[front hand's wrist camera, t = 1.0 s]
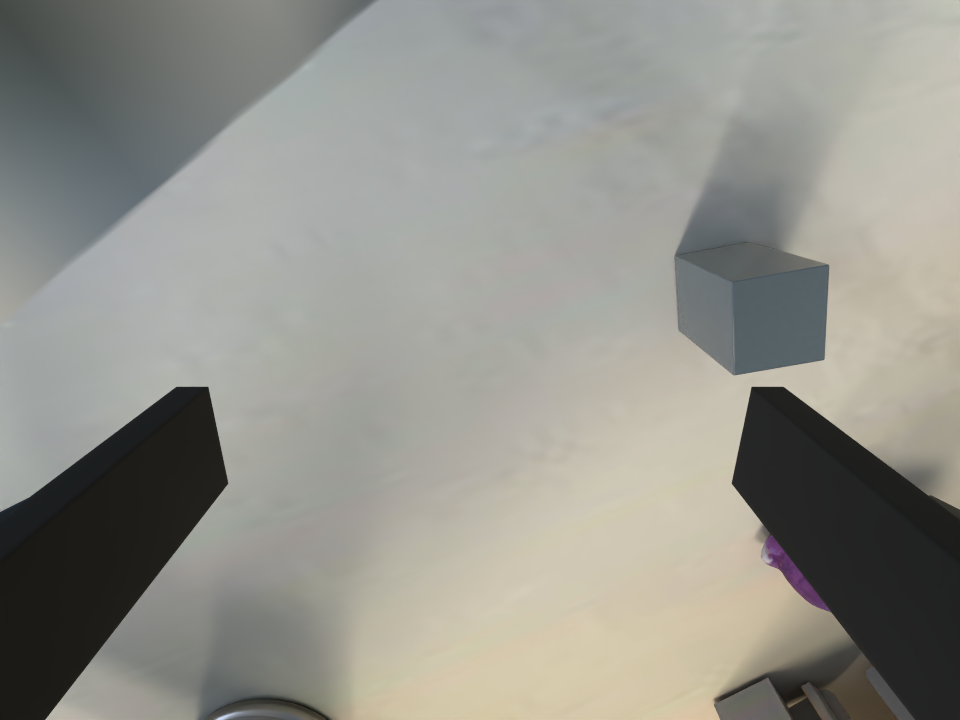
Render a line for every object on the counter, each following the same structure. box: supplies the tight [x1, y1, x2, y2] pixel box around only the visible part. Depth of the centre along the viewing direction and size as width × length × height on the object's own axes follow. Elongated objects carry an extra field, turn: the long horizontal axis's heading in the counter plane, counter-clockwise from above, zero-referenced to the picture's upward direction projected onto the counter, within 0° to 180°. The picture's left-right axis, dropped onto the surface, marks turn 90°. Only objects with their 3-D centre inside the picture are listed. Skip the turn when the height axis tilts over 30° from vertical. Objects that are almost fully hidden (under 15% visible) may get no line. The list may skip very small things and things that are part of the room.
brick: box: [675, 242, 829, 375], centre depth 32 cm, size 5×6×9 cm
